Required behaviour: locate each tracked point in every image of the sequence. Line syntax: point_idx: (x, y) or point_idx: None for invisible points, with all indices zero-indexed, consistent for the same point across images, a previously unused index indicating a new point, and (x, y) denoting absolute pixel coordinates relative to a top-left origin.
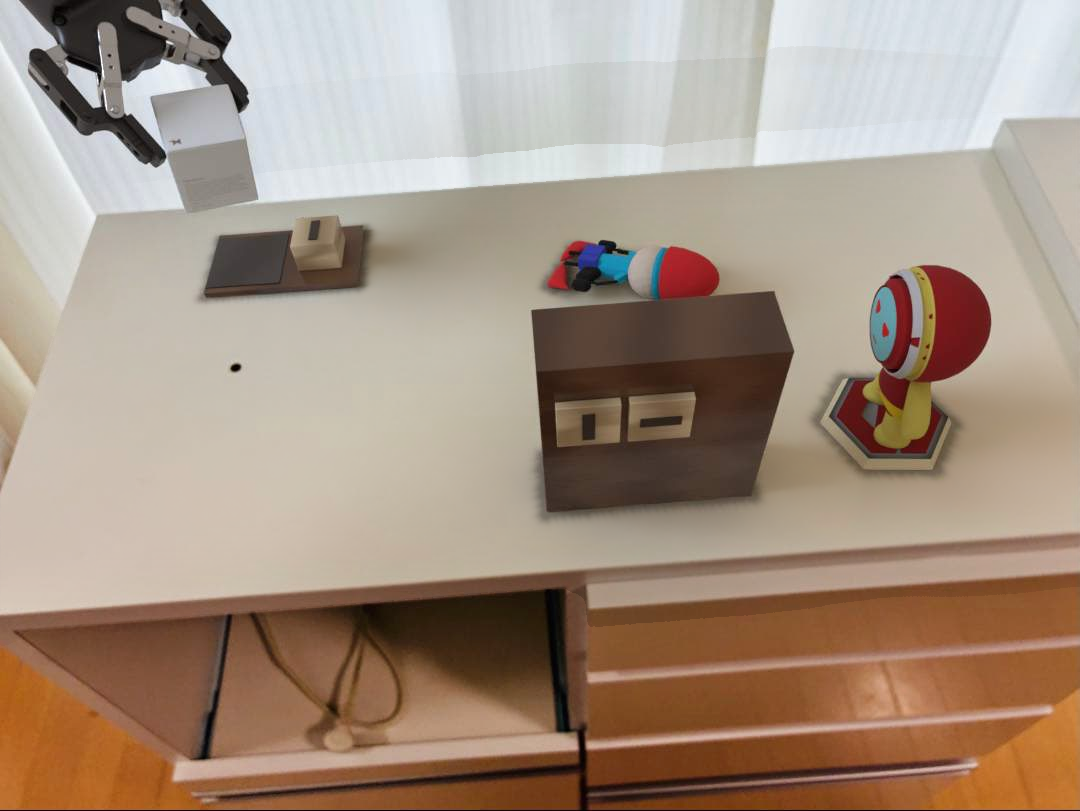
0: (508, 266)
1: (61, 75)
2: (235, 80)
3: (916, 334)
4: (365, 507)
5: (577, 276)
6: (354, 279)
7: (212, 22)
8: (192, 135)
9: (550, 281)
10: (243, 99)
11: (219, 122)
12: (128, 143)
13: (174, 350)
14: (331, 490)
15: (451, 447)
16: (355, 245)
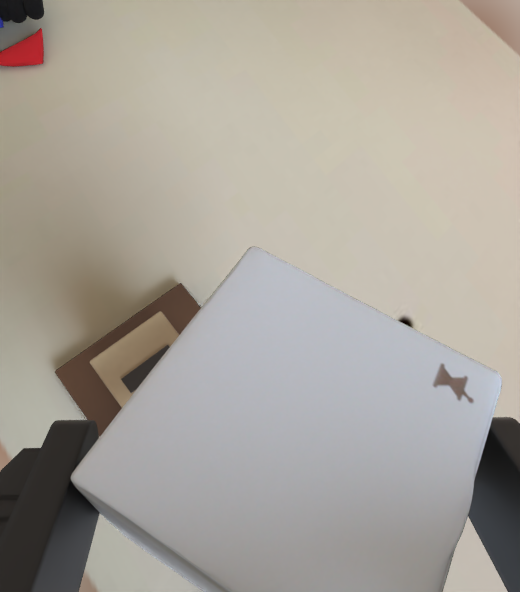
0: (29, 127)
1: None
2: (4, 508)
3: None
4: (434, 66)
5: (21, 9)
6: (176, 289)
7: None
8: (387, 364)
9: (37, 55)
10: (76, 422)
11: (268, 343)
12: None
13: None
14: (444, 104)
15: (324, 37)
16: (108, 343)
